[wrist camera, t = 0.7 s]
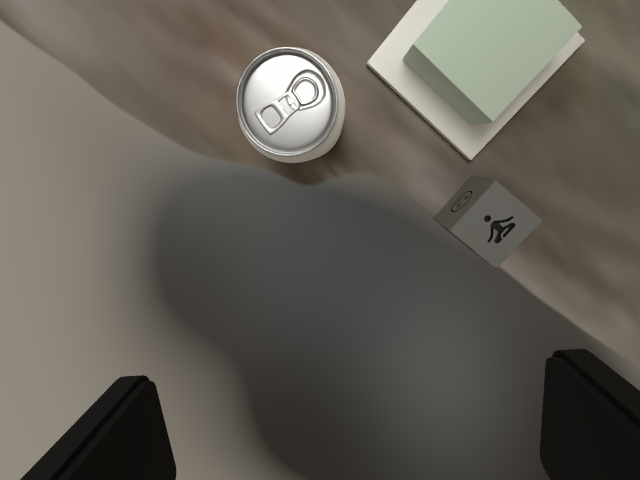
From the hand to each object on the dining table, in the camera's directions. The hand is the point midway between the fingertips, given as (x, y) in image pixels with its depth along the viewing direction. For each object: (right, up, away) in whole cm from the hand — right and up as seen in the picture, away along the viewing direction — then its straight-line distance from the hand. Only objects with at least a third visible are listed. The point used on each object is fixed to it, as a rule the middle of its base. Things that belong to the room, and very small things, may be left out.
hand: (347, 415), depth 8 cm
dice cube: (+13, +7, +24) cm, 28 cm away
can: (-2, +15, +22) cm, 27 cm away
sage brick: (+12, +19, +19) cm, 30 cm away
